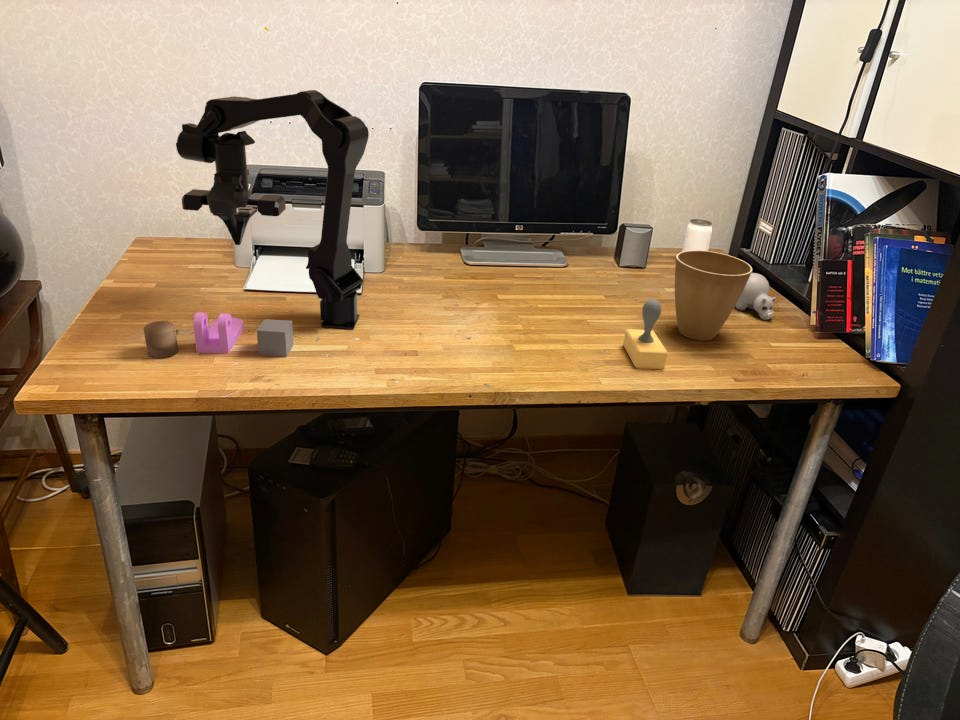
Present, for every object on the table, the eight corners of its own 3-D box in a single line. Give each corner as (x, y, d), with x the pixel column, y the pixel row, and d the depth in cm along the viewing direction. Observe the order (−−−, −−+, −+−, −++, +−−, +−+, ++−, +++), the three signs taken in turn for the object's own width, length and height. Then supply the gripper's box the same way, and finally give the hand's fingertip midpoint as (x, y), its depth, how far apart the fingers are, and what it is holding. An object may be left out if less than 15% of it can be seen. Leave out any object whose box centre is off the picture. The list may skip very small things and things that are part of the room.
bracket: (228, 354, 126) (225, 318, 123) (196, 353, 126) (192, 317, 123) (246, 324, 138) (243, 291, 135) (217, 323, 138) (213, 289, 134)
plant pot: (700, 354, 140) (717, 278, 132) (647, 325, 150) (660, 254, 143) (749, 341, 147) (768, 268, 140) (695, 315, 158) (710, 246, 151)
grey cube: (293, 345, 131) (292, 320, 129) (286, 357, 127) (285, 332, 124) (266, 343, 131) (264, 319, 129) (258, 355, 127) (256, 330, 124)
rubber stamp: (622, 345, 141) (632, 289, 136) (650, 346, 142) (661, 290, 136) (634, 368, 132) (645, 309, 127) (664, 369, 133) (677, 311, 127)
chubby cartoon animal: (747, 331, 158) (765, 304, 152) (722, 294, 166) (738, 267, 159) (774, 328, 161) (792, 302, 154) (747, 292, 168) (764, 265, 161)
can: (706, 270, 186) (716, 226, 181) (682, 269, 186) (691, 224, 181) (700, 262, 192) (709, 219, 186) (676, 260, 192) (685, 217, 186)
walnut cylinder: (182, 347, 127) (179, 322, 125) (171, 360, 123) (167, 334, 121) (154, 345, 127) (151, 320, 125) (142, 357, 123) (138, 332, 120)
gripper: (165, 172, 128) (176, 254, 135) (268, 179, 129) (273, 261, 136) (188, 159, 138) (197, 236, 145) (284, 166, 139) (288, 243, 146)
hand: (238, 244), depth 143 cm, fingers closed
